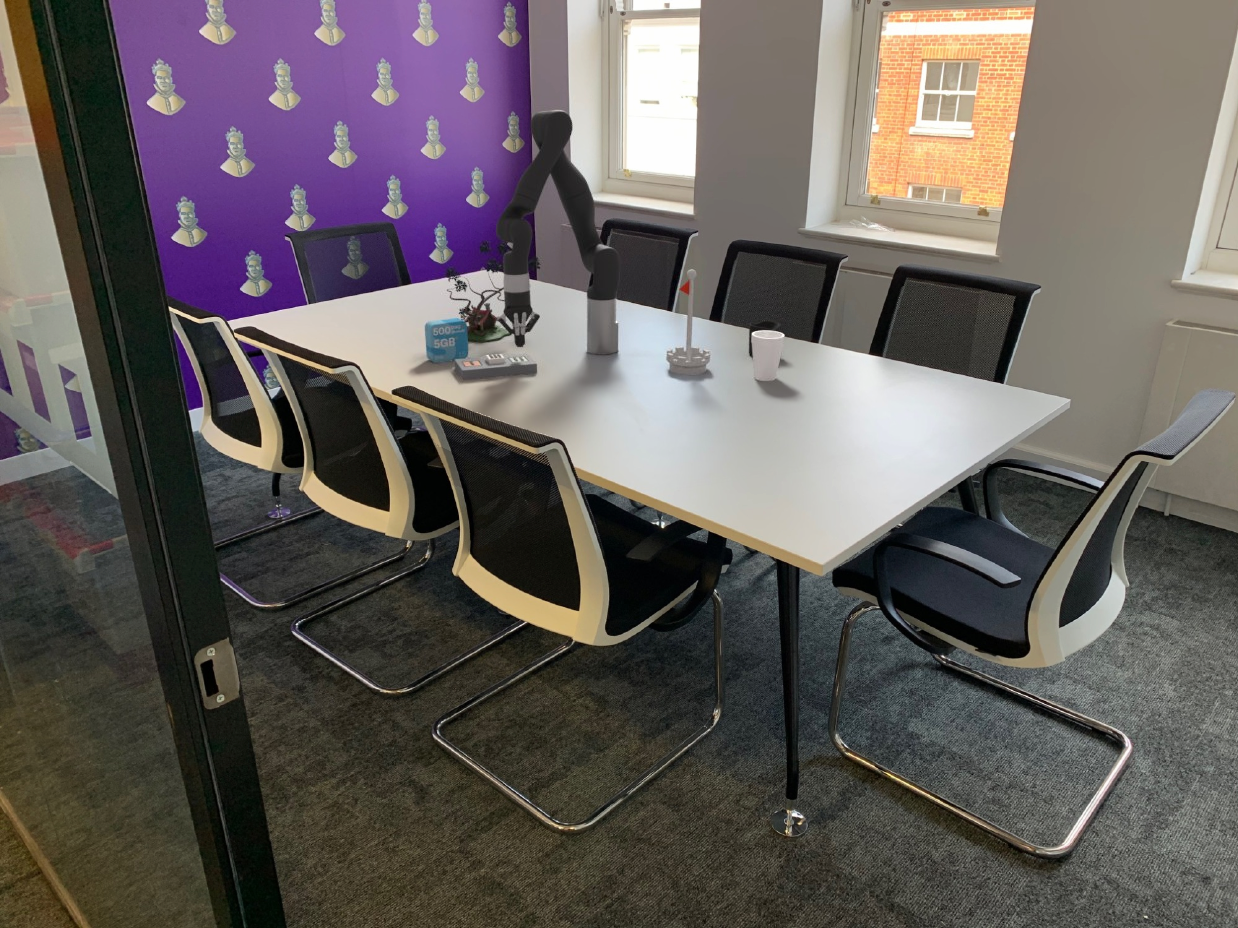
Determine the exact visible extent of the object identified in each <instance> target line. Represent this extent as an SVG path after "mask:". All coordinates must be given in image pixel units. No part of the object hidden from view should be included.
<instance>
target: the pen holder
mask: <svg viewBox="0 0 1238 928" xmlns="http://www.w3.org/2000/svg"><path fill="white" fill-rule="evenodd" d="M780 326H781V323H779V322H776V321H772V320H762V321H759V322H757V323H753V322H749V326H748V327H749V330H748V355H749V356H750V357H752V356H753V352H752V343H751V337H752V333H753V332H755V331H762V330H769V331H777V332H780Z"/></svg>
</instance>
